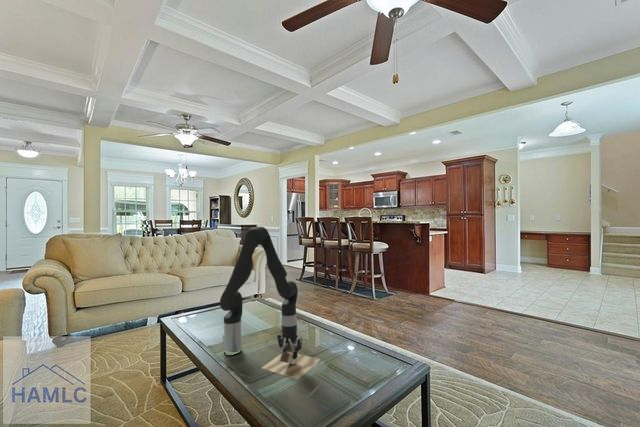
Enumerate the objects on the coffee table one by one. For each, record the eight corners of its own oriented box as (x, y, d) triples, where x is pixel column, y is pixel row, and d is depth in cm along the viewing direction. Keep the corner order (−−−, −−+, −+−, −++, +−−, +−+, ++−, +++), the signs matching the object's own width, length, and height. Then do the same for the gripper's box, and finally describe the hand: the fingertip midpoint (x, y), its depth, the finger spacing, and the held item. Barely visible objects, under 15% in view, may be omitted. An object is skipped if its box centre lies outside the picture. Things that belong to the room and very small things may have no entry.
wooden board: (261, 369, 141) (261, 368, 141) (285, 351, 158) (285, 350, 158) (298, 380, 130) (298, 379, 130) (320, 360, 148) (320, 359, 148)
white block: (289, 362, 145) (279, 360, 139) (292, 354, 147) (282, 351, 140) (296, 364, 143) (286, 362, 137) (298, 355, 145) (288, 353, 138)
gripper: (272, 323, 142) (273, 357, 142) (297, 328, 135) (298, 364, 135) (282, 318, 149) (283, 351, 149) (305, 322, 142) (306, 357, 142)
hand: (290, 357), depth 142 cm, fingers open, 5 cm apart
